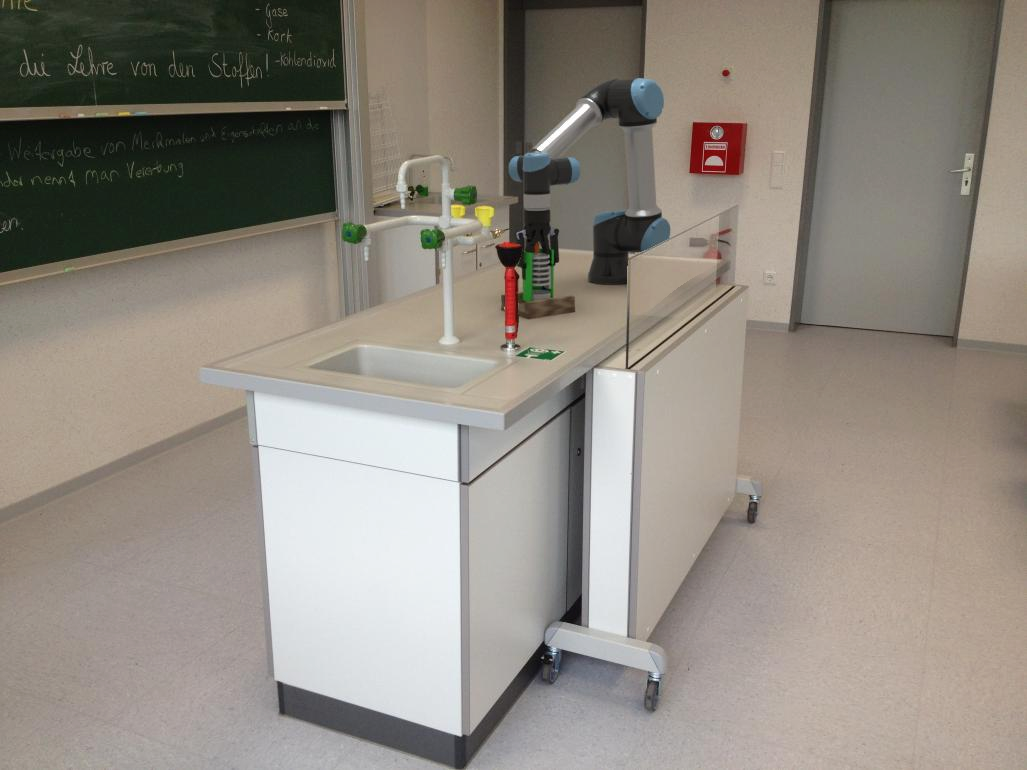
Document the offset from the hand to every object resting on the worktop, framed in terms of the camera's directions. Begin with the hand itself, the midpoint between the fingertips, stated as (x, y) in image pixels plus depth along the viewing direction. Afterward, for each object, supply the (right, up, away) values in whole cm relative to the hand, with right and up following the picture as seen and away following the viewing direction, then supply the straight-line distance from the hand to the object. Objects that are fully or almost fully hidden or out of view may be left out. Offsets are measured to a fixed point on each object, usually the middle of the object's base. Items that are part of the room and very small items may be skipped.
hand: (537, 289), depth 281 cm
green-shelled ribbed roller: (0, -3, +1) cm, 3 cm away
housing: (0, -6, +2) cm, 6 cm away
